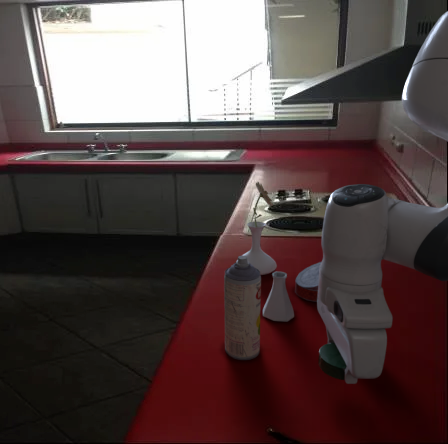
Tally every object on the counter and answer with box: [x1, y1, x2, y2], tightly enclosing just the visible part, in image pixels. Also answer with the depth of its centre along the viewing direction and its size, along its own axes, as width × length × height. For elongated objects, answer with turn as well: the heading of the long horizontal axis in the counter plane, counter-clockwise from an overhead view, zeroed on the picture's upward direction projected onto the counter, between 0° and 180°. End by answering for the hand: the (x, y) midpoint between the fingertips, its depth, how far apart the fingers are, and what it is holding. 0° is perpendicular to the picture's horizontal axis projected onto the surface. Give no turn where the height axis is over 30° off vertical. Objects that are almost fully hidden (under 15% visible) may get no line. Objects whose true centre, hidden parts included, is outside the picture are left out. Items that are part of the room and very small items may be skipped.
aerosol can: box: [223, 255, 262, 361], centre depth 80 cm, size 7×7×20 cm
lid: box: [317, 342, 347, 381], centre depth 69 cm, size 7×7×2 cm
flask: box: [262, 270, 295, 322], centre depth 94 cm, size 7×7×10 cm
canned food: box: [294, 261, 322, 303], centre depth 103 cm, size 11×10×10 cm
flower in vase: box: [235, 181, 278, 276], centre depth 115 cm, size 13×11×25 cm
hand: (341, 364), depth 69 cm, fingers closed on lid, 7 cm apart
